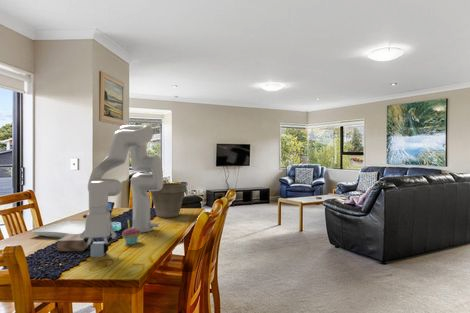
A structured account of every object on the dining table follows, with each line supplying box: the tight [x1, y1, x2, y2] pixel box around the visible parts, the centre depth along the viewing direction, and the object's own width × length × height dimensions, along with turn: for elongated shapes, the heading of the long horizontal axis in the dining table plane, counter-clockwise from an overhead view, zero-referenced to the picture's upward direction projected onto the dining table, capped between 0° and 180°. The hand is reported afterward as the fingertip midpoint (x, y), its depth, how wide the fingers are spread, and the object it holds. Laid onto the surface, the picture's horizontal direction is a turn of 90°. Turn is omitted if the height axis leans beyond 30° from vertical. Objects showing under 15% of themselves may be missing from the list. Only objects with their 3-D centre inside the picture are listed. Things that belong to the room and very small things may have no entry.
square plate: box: [31, 220, 86, 239], centre depth 177 cm, size 27×27×4 cm
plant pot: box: [149, 182, 187, 219], centre depth 224 cm, size 25×25×22 cm
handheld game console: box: [82, 201, 115, 219], centre depth 221 cm, size 16×13×9 cm
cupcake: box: [121, 219, 141, 245], centre depth 158 cm, size 9×8×12 cm
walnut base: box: [56, 234, 89, 252], centre depth 150 cm, size 11×11×5 cm
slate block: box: [90, 241, 106, 258], centre depth 139 cm, size 5×5×5 cm
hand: (98, 252), depth 139 cm, fingers closed on slate block, 5 cm apart
